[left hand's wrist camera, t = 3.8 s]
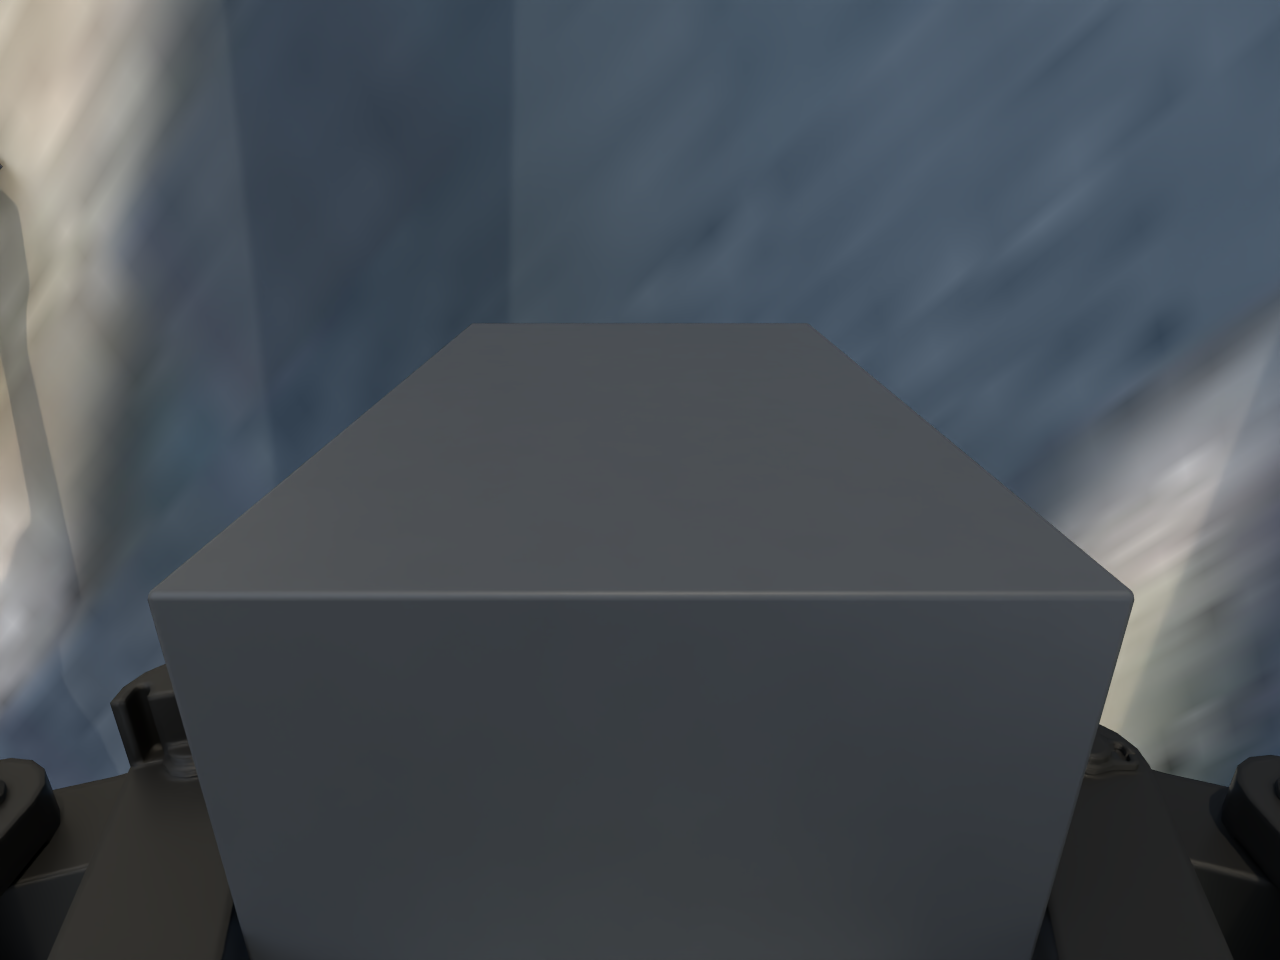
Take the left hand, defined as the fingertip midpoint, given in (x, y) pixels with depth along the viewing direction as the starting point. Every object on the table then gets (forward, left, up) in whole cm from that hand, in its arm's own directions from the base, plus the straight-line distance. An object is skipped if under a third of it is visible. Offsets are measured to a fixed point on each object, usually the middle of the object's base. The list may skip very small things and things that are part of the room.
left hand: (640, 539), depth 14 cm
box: (+7, +7, -1) cm, 10 cm away
